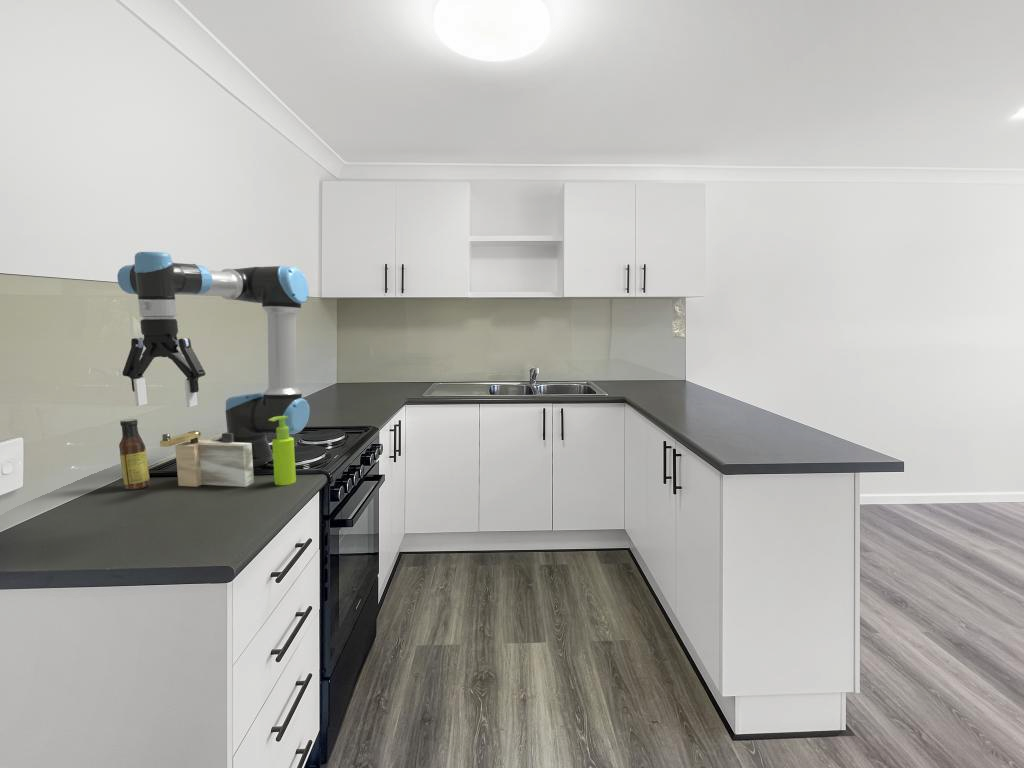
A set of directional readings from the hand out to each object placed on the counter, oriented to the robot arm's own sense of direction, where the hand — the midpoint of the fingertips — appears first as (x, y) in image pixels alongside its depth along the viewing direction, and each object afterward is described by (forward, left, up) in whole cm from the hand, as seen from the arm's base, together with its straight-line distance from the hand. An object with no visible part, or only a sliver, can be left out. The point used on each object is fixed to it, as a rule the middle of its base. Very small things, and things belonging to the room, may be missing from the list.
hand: (166, 405), depth 137 cm
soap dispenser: (-27, +13, -28) cm, 41 cm away
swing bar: (-19, -13, -14) cm, 27 cm away
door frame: (-24, -6, -27) cm, 37 cm away
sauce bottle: (-17, -27, -28) cm, 42 cm away
